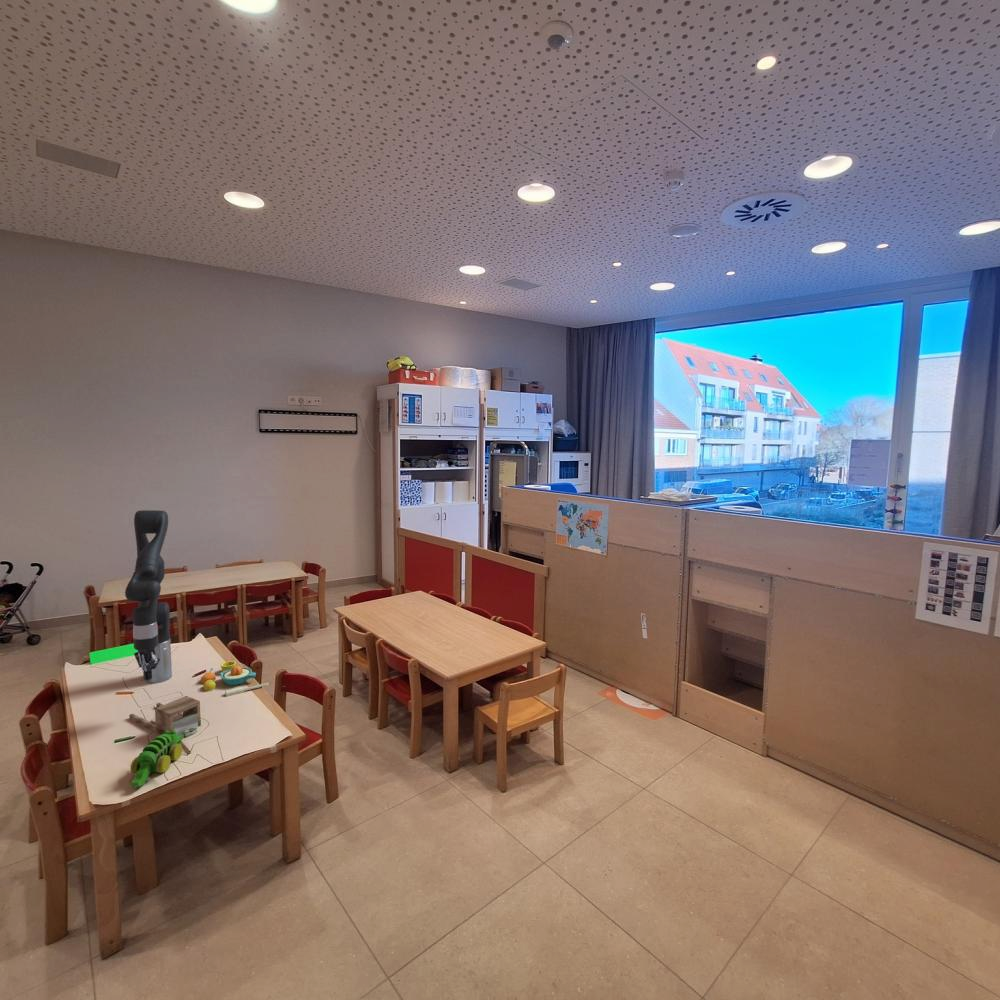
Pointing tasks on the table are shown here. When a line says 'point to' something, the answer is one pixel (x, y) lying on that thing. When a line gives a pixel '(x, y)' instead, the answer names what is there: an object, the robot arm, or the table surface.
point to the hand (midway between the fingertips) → (148, 679)
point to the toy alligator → (158, 755)
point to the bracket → (112, 654)
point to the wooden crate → (166, 714)
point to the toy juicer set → (230, 678)
